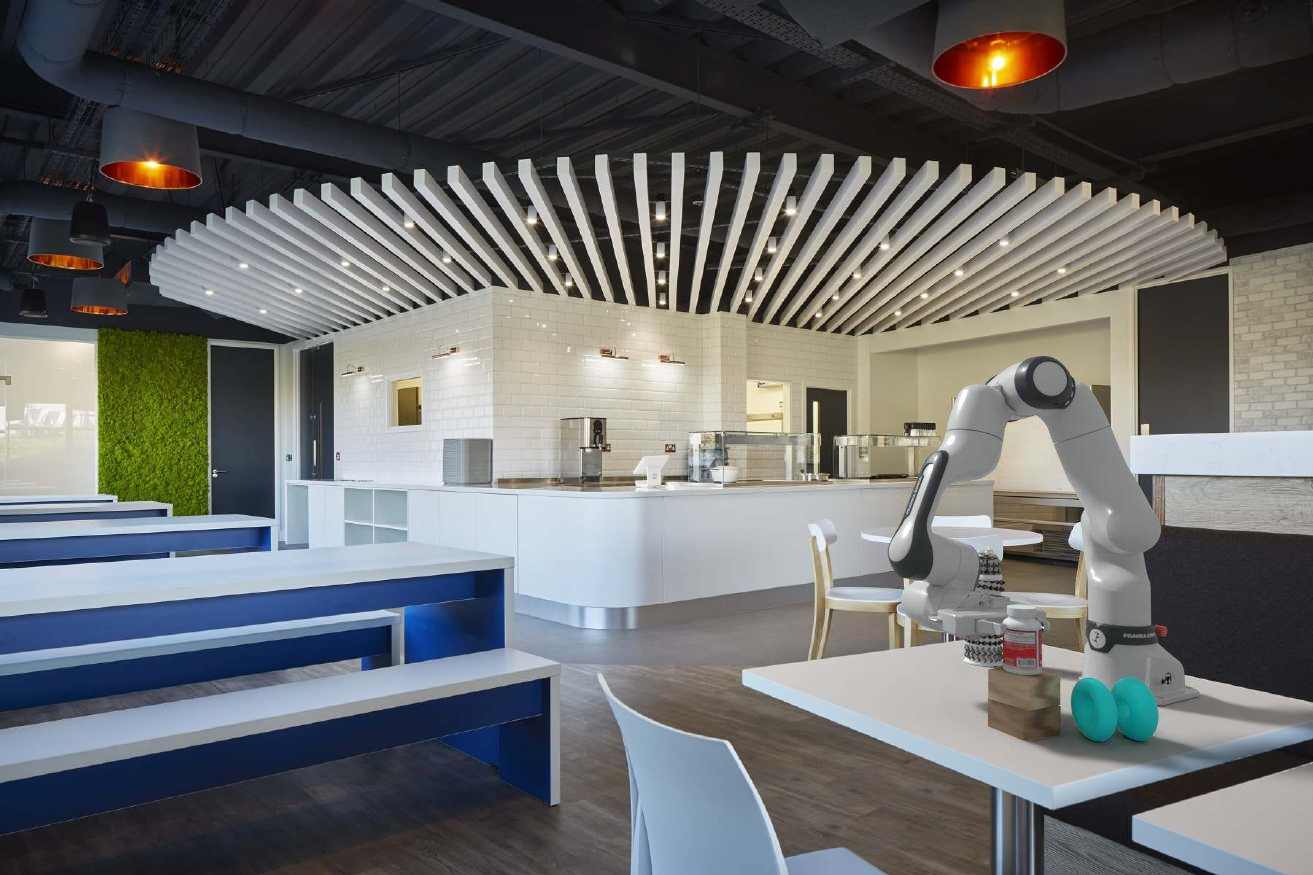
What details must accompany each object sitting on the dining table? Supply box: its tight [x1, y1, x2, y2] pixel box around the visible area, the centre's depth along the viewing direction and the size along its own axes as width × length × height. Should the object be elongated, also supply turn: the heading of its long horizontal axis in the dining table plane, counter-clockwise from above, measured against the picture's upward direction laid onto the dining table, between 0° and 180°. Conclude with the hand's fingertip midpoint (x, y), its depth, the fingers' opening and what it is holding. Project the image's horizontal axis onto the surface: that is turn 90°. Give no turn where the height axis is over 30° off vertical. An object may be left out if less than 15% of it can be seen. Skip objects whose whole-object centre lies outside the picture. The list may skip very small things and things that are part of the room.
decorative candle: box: [963, 552, 1006, 668], centre depth 192 cm, size 9×9×25 cm
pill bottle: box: [1002, 604, 1043, 676], centre depth 142 cm, size 6×6×11 cm
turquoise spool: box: [1070, 677, 1160, 742], centre depth 137 cm, size 10×10×10 cm
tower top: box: [987, 666, 1061, 711], centre depth 141 cm, size 8×8×5 cm
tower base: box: [987, 698, 1062, 741], centre depth 141 cm, size 8×8×5 cm
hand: (1025, 628), depth 141 cm, fingers open, 8 cm apart
